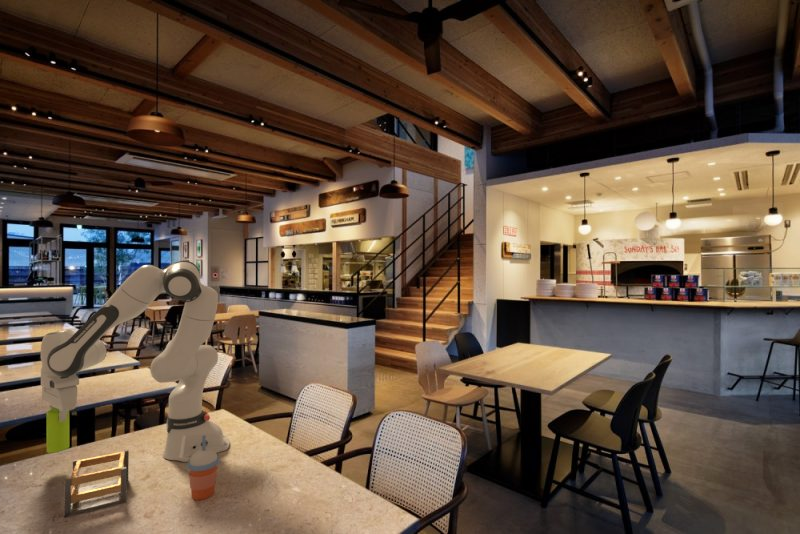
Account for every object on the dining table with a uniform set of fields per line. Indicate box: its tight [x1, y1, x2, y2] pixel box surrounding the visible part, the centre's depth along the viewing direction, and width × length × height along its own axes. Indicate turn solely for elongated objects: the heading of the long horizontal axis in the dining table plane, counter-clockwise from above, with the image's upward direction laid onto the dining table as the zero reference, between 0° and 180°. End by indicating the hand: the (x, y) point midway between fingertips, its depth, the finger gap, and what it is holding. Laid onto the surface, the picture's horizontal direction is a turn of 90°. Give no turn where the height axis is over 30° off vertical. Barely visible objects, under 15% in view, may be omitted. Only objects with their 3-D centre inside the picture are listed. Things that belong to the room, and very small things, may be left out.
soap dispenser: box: [45, 405, 70, 454], centre depth 134 cm, size 6×7×20 cm
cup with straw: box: [186, 435, 221, 501], centre depth 122 cm, size 9×9×18 cm
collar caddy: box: [63, 449, 130, 518], centre depth 119 cm, size 14×14×10 cm
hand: (58, 418), depth 134 cm, fingers closed on soap dispenser, 6 cm apart
